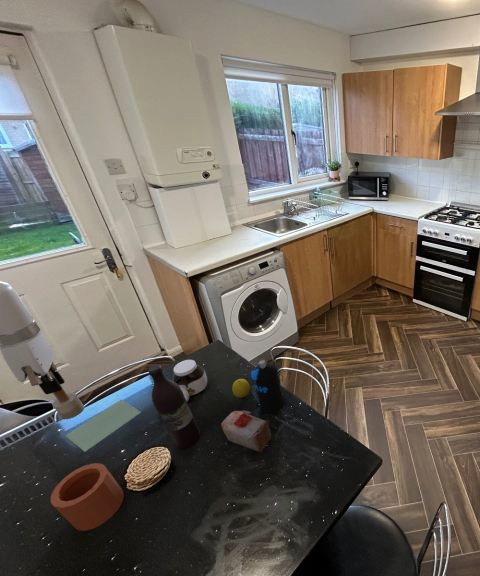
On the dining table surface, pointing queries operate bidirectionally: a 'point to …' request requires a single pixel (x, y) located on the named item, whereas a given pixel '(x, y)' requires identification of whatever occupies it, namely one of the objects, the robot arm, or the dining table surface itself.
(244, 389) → the lemon
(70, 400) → the brush
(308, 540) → the dining table surface
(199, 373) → the spread jar
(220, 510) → the dining table surface
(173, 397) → the wine bottle
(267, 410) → the aerosol can
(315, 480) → the dining table surface
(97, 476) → the terracotta pot
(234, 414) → the food item
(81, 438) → the mat
